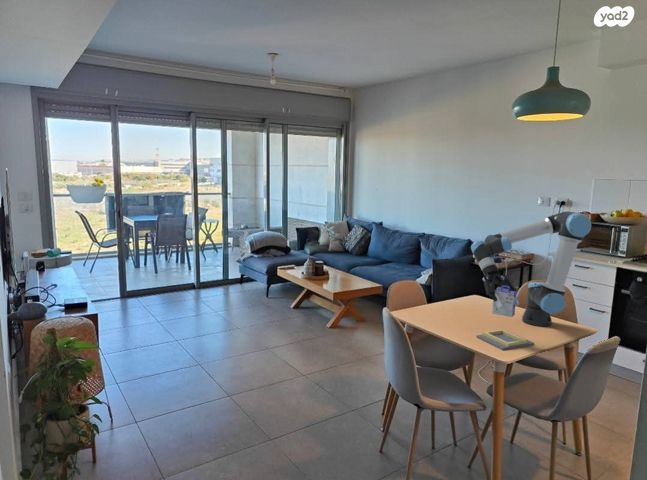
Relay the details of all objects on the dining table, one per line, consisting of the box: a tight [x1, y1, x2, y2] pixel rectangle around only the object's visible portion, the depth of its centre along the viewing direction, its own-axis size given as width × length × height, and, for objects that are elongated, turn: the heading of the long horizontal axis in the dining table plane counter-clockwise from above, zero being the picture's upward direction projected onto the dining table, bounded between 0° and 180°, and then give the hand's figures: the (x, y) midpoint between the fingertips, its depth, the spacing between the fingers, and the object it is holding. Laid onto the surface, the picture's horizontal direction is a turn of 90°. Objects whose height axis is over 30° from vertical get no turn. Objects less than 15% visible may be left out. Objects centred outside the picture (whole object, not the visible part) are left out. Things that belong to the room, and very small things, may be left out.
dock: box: [475, 329, 535, 351], centre depth 222 cm, size 20×18×2 cm
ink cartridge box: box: [491, 285, 517, 318], centre depth 220 cm, size 10×6×14 cm, turn 55°
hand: (508, 305), depth 217 cm, fingers closed on ink cartridge box, 9 cm apart
